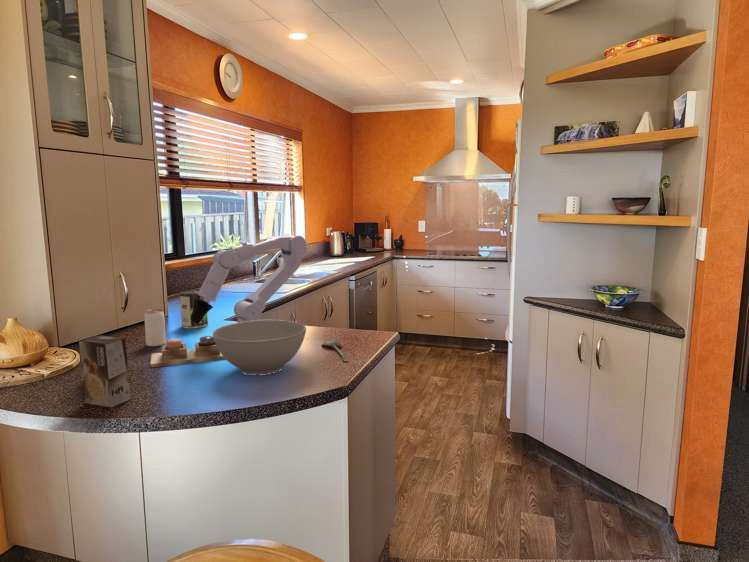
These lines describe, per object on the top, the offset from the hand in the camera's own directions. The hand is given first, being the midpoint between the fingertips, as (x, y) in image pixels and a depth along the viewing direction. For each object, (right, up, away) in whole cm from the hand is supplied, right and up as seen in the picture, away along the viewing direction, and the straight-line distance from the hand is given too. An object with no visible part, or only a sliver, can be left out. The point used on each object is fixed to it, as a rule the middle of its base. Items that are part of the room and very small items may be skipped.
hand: (194, 321), depth 167 cm
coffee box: (-9, -17, -37) cm, 42 cm away
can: (-19, -9, +16) cm, 27 cm away
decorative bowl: (+25, -13, -12) cm, 31 cm away
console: (-1, -11, 0) cm, 11 cm away
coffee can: (-15, -5, +45) cm, 47 cm away
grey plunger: (+4, -8, +2) cm, 9 cm away
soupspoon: (+46, -11, +5) cm, 47 cm away
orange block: (-5, -9, -2) cm, 11 cm away
